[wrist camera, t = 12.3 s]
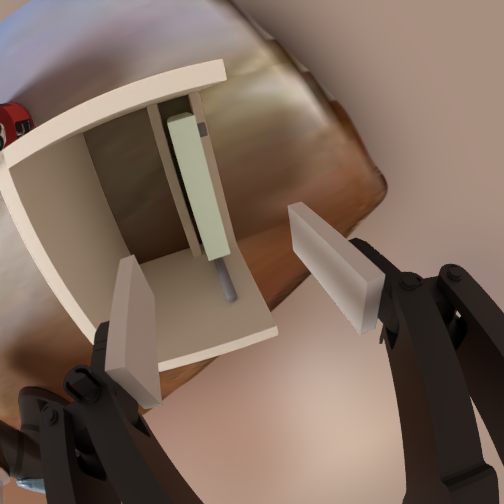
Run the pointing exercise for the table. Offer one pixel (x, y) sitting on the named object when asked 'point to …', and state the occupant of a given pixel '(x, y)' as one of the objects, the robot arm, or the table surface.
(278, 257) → the table surface
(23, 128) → the canned food
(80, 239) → the cabinet
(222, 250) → the door
